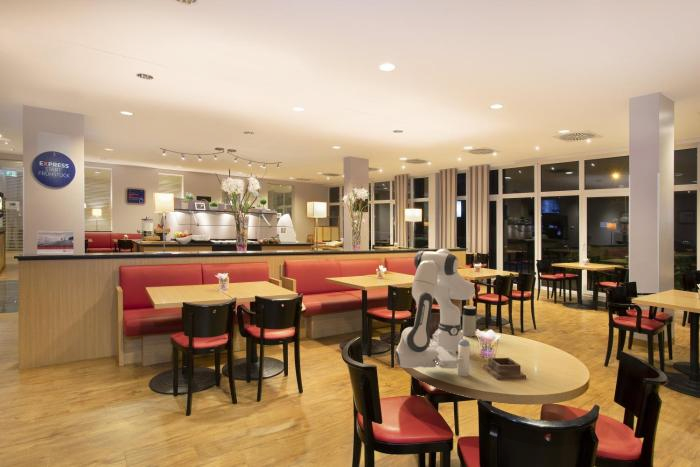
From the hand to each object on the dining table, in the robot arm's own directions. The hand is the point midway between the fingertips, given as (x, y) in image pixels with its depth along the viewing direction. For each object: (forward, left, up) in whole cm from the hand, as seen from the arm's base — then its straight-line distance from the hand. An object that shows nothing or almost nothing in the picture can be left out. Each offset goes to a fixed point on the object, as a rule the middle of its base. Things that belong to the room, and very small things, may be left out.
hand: (459, 356), depth 181 cm
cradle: (0, +22, -8) cm, 24 cm away
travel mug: (-62, +32, -9) cm, 70 cm away
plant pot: (-62, +8, -9) cm, 63 cm away
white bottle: (0, +2, -8) cm, 9 cm away
